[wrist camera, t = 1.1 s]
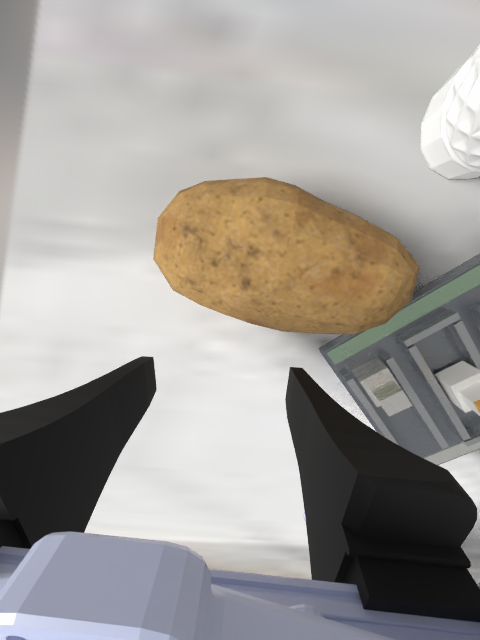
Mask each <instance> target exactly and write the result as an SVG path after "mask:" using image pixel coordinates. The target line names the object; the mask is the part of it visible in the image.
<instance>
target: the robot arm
mask: <svg viewBox="0 0 480 640" xmlns="http://www.w3.org/2000/svg"><path fill="white" fill-rule="evenodd" d="M155 392H156V379H155V369H154V360H153V357H143V356H142V357H139V358H137V359H135V360H133V361H131V362H129V363H127V364H125V365H123V366H121V367H119V368H117V369H115V370H113V371H112V372H110V373H108V374H106V375H104V376H101V377H99V378H97V379H95V380H93V381H91V382H89V383H87V384H85V385H82V386H80V387H78V388H75V389H73V390H70V391H68V392H65V393H63V394H60V395H57V396H55V397H52V398H49V399H46V400H43V401H40V402H37V403H34V404H31V405H27V406H24V407H21V408H17V409H14V410H10V411H6V412H2V413H0V640H480V583H479V584H478V585H477V584H476V582H475V581H474V579H473V578H472V576H471V574H470V573H469V571H468V570H467V568H469V567H470V566H471V564H470V561H469V559H468V558H467V556H466V554H465V553H464V551H463V550H462V548H461V547H460V546H461V545H462V543H463V542H464V540H465V539H466V537H467V536H468V534H469V533H470V531H471V530H472V528H473V527H474V524H475V522H476V520H477V508H476V506H475V504H474V502H473V500H472V499H471V498H470V497H469V495H468V494H467V493H466V492H465V491H464V489H463V488H462V487H461V486H460V484H459V483H458V482H457V481H456V480H455V478H454V477H453V476H452V475H451V474H450V472H449V471H448V470H446V469H444V468H442V467H440V466H438V465H436V464H434V463H432V462H430V461H428V460H426V459H424V458H422V457H420V456H418V455H416V454H414V453H412V452H410V451H408V450H406V449H404V448H403V447H401V446H399V445H397V444H395V443H394V442H392V441H390V440H389V439H387V438H385V437H384V436H382V435H380V434H379V433H377V432H376V431H374V430H373V429H371V428H370V427H368V426H367V425H365V424H364V423H362V422H361V421H359V420H358V419H357V418H355V417H354V416H353V415H351V414H350V413H349V412H347V411H346V410H345V409H344V408H343V407H341V406H340V405H339V404H338V403H337V402H336V401H334V400H333V399H332V398H331V397H330V396H329V395H328V394H327V393H326V392H325V391H324V390H323V389H322V388H321V387H320V386H319V385H318V384H317V383H316V382H315V381H314V380H313V379H312V378H311V377H310V376H309V375H308V374H307V373H306V371H305V370H304V369H303V368H295V367H290V372H289V379H288V386H287V392H286V399H285V400H286V410H287V418H288V423H289V427H290V431H291V435H292V440H293V444H294V448H295V452H296V457H297V461H298V466H299V472H300V479H301V486H302V493H303V501H304V509H305V513H304V514H303V518H304V520H305V521H306V526H307V535H308V544H309V553H310V564H311V574H312V580H308V579H299V578H290V577H280V576H271V575H262V574H253V573H244V572H235V571H226V570H216V569H208V567H207V565H206V563H205V561H204V559H203V557H202V556H200V555H199V554H197V553H196V552H194V551H193V550H191V549H190V548H188V547H186V546H182V545H178V544H174V543H170V542H166V541H156V540H147V539H137V538H128V537H118V536H109V535H99V534H90V533H84V531H85V529H86V526H87V524H88V522H89V520H90V517H91V515H92V513H93V510H94V508H95V506H96V503H97V501H98V499H99V497H100V495H101V492H102V490H103V488H104V486H105V484H106V482H107V480H108V477H109V475H110V473H111V471H112V469H113V467H114V465H115V463H116V461H117V459H118V457H119V455H120V453H121V451H122V450H123V448H124V446H125V445H126V443H127V441H128V440H129V438H130V436H131V435H132V433H133V432H134V430H135V428H136V427H137V425H138V424H139V422H140V420H141V419H142V417H143V415H144V414H145V412H146V411H147V409H148V407H149V405H150V403H151V401H152V399H153V396H154V394H155Z"/></svg>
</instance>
